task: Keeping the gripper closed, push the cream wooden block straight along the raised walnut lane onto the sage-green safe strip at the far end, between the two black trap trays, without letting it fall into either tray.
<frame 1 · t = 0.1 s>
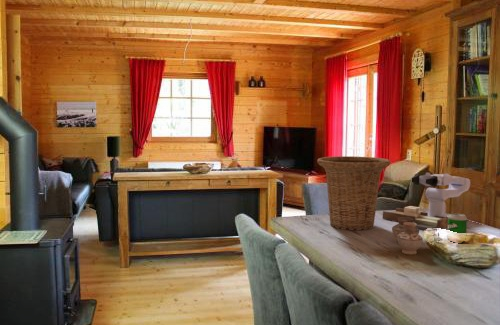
hand: (419, 180, 242), 22 cm above the table, tool horizontal, fingers open, 7 cm apart
wicker basket: (351, 225, 237), on the table
pottery: (407, 248, 198), on the table
soda can: (456, 242, 207), on the table
cream block: (412, 216, 248), point 2 cm above the table, touching trap box
trap trays: (433, 223, 240), on the table
trap box: (419, 222, 245), on the table
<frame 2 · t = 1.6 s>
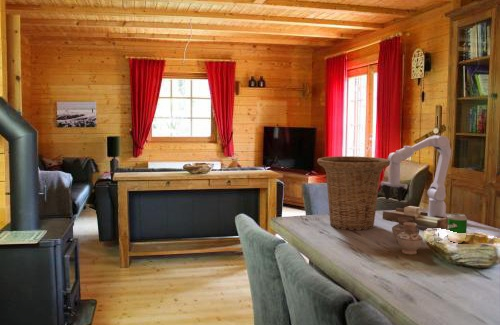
hand: (393, 200, 255), 9 cm above the table, tool pointing down, fingers open, 7 cm apart
nothing on the table moved.
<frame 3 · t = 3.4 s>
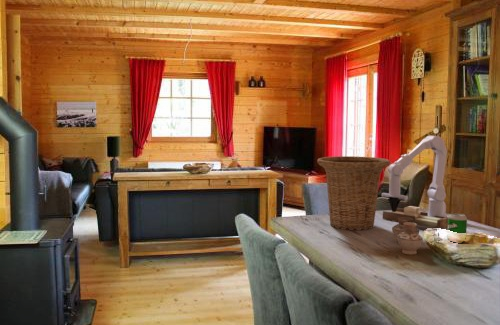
hand: (394, 211, 255), 3 cm above the table, tool pointing down, fingers closed
nothing on the table moved.
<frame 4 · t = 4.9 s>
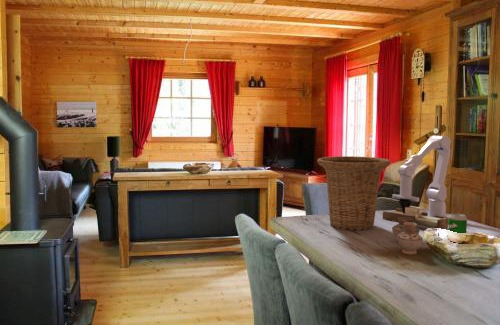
hand: (404, 213, 251), 3 cm above the table, tool pointing down, fingers closed
cream block: (413, 216, 247), point 3 cm above the table, touching gripper, trap box
everything else where it was.
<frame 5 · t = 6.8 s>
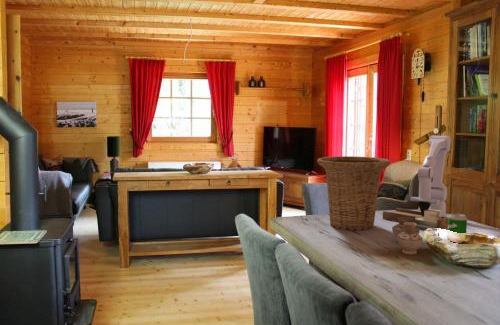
hand: (423, 216, 243), 3 cm above the table, tool pointing down, fingers closed
cream block: (432, 219, 239), point 3 cm above the table, touching gripper
everything else where it was.
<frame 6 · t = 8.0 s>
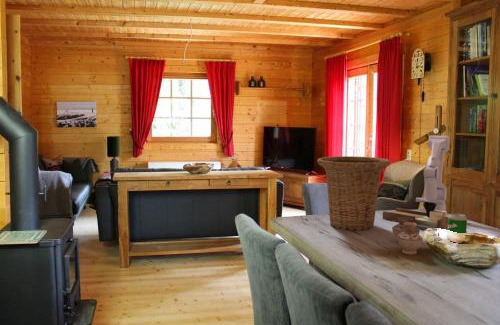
hand: (429, 217, 241), 3 cm above the table, tool pointing down, fingers closed
cream block: (438, 220, 237), point 2 cm above the table, touching gripper, trap box
everything else where it was.
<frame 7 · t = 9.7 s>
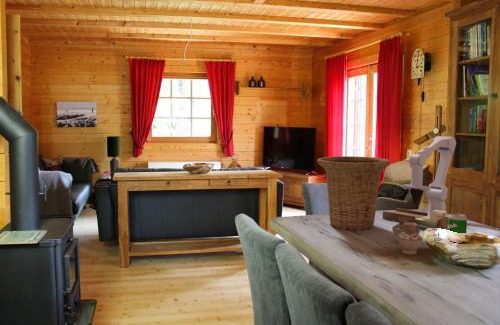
hand: (415, 203, 246), 9 cm above the table, tool pointing down, fingers closed
cream block: (438, 220, 237), point 2 cm above the table, touching trap box
everything else where it was.
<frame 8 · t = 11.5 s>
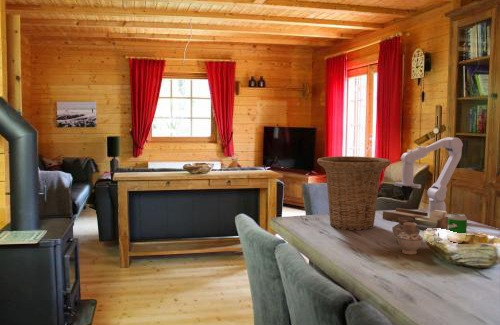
hand: (406, 200, 255), 9 cm above the table, tool pointing down, fingers closed
nothing on the table moved.
at the end: cream block inside the target area (1.4 cm from its centre), point 2.5 cm above the table; cream block tilted 0°; cream block moved 14.2 cm from its start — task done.
